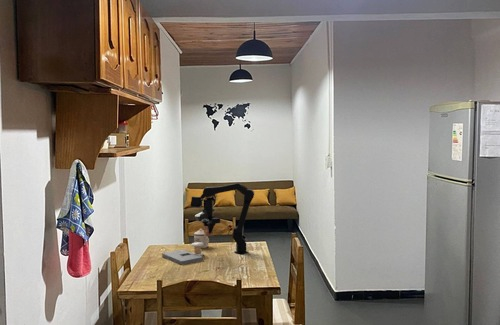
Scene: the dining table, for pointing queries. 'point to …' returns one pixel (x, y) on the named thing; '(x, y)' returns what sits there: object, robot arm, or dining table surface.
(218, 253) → the dining table surface
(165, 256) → the slotted board
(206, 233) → the brown rectangular block
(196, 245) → the spool
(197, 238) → the white printed mug
